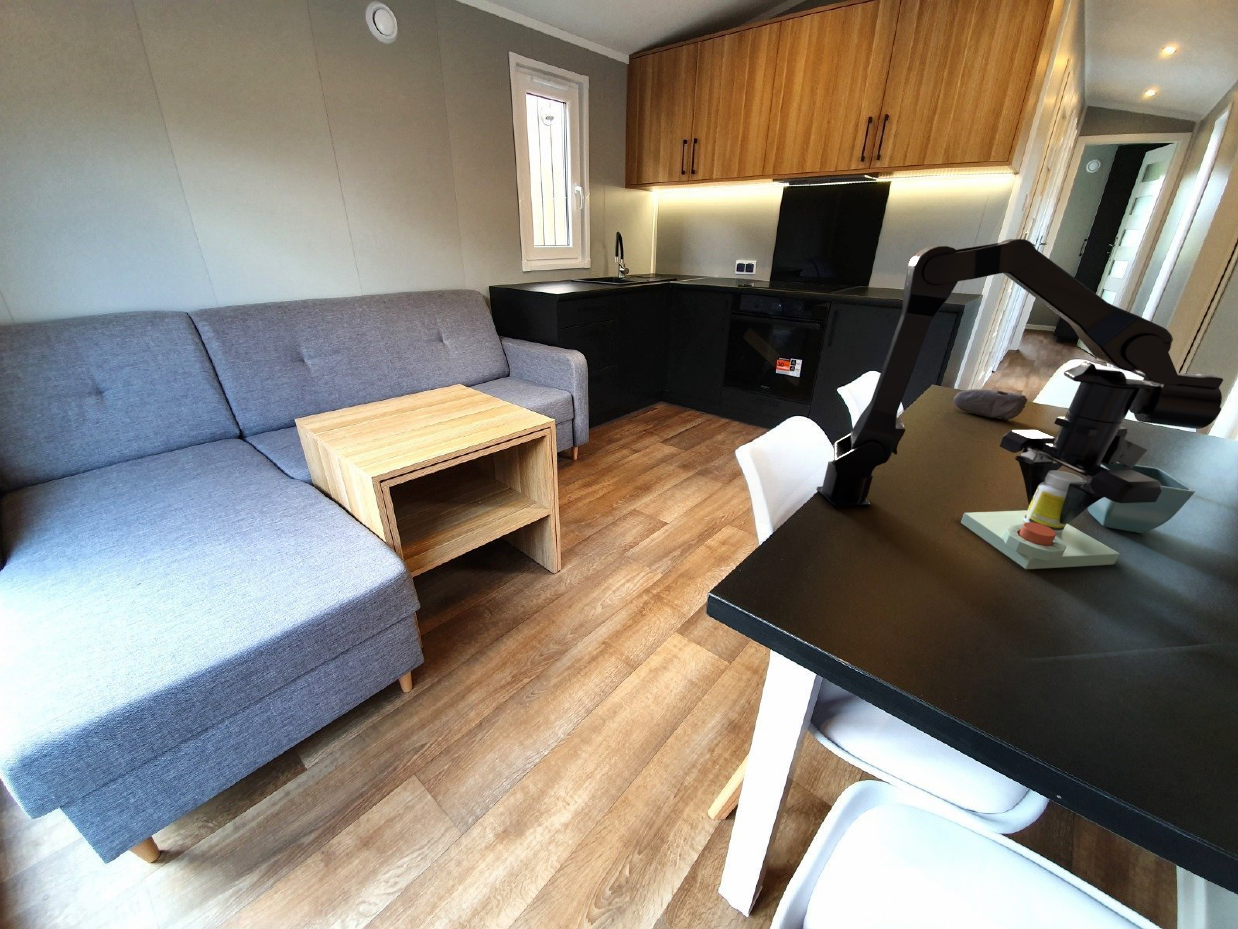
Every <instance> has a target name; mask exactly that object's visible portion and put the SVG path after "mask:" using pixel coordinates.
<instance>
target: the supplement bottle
mask: <svg viewBox="0 0 1238 929" xmlns="http://www.w3.org/2000/svg"><path fill="white" fill-rule="evenodd" d="M1084 480H1085V479H1083V477H1081V476H1079V475H1078V474H1075V473H1071V472H1068V471H1063V470H1059V469H1058V470H1051V471H1049V472H1048V474H1047V476H1046V477H1045V482H1042V483H1040V484H1039V486H1038V488H1037V490H1036V492H1035V494H1034V497H1033V499H1032V501H1031V503H1030V505H1029V504H1028V507H1027V512H1026V514H1025V517H1024V521H1025V522H1033V523H1038V524H1042V525H1045V526H1047V527H1049V528H1051V529H1052V530H1054V531H1055V532H1056V533H1060V532H1062V531H1063V529H1064V527H1065V526H1066V524H1061V523H1060V514H1061V511H1062V507H1063V504H1064V501H1065V497H1066V494H1067V490H1068V487H1069V484H1070V483H1083V482H1084Z"/></svg>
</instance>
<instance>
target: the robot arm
mask: <svg viewBox="0 0 1238 929" xmlns="http://www.w3.org/2000/svg"><path fill="white" fill-rule="evenodd" d="M907 264H908V265H907V269H906V274H905V280H904V288H903V298H902V308H901V314H900V318H899V320H898V322H897V326H896V328H895V331H894V334H893V337H892V340H891V343H890V345H889V349H888V351H887V354H886V358H885V360H884V363H883V366H882V368H881V371H880V373H879V377H878V379H877V383H876V386H875V388H874V391H873V394H872V397H871V400H870V401H869V402H868V405H866V407H865V409H863V411H862V413H861V414H860V415H859V417H858V418H857V421H856V422H855V424H854V426H853V428H852V429H851V432H850V433H849V434H847V435H845V436H844V437H841V438H840V439H838V440H837V441H835V442H834V443H833V460H832V461H831V460H829V461H827V466H826V471H825V474H824V478H823V482H822V486H816V488H815V489H816V491H817V492H818V493H819V494H820V495H821V496H822V497H823V498H824V499H825V500H826V501H827V502H828V503H829V504H830V505H831V506H832V507H834V508H854V507H870V505H871V502H870V501H869V500H868V499H867V498H868V496H869V492H870V488H871V485H872V483H873V482H872V481H873V479H874V477H873V471H874V470H875V468H877V467H879V466H881V465H883V464H886V463H887V462H888V461H890V459H891V457H892V455H893V454H894V455H898V445H899V443H900V442H901V440H902V438H903V437H904V435H905V433H906V428H905V424H904V423H903V419H902V418H901V417H898V412H899V409H900V406H901V403H902V401H903V399H904V396H905V394H906V391H907V388H908V385H909V383H910V380H911V377H912V375H913V372H914V369H915V367H916V365H917V361H918V359H919V356H920V354H921V351H922V349H923V345H924V343H925V341H926V338H927V335H928V332H929V330H930V327H931V325H932V323H933V320H934V319H935V318H936V316H937V314H938V313H939V311H940V310H941V309H942V307H943V306H944V305H945V303H946V302H947V301H948V299H949V298H950V296H951V295H952V293H953V291H954V290H955V288H956V286H957V285H958V282H962V281H968V280H969V281H971V280H975V279H981V278H986V277H989V276H995V275H1001V274H1003V275H1004V276H1006V277H1007V278H1008V279H1010V280H1011V281H1012V282H1014V283H1015V284H1016V285H1018V286H1019V287H1020V288H1022V289H1023V290H1024V291H1026V292H1027V293H1028V294H1030V295H1031V296H1032V297H1033V298H1035V299H1036V300H1038V301H1039V302H1040V303H1041V304H1043V305H1044V306H1045V307H1047V308H1048V309H1050V310H1051V311H1052V312H1053V313H1055V314H1056V315H1057V316H1059V317H1060V318H1061V319H1063V320H1064V321H1066V322H1067V323H1068V324H1069V325H1070V326H1071V328H1072V329H1073V330H1074V332H1075V334H1076V335H1077V337H1078V338H1079V341H1081V342H1082V344H1083V345H1084V346H1085V348H1087V350H1088V351H1089V353H1091V354H1092V355H1093V356H1094V357H1095V358H1096V359H1098V360H1099V361H1102V362H1104V363H1107V364H1109V365H1111V366H1113V367H1116V368H1118V369H1120V370H1113V369H1103V368H1097V367H1096V365H1095V364H1094V363H1092V362H1089V361H1087V360H1086V361H1085V360H1084V361H1083V362H1082V363H1081V364H1079V365H1077V366H1074V367H1071V368H1070V369H1067V370H1065V371H1063V375H1064V376H1065V377H1066V378H1068V379H1070V380H1072V381H1074V382H1077V383H1079V385H1078V387H1077V389H1076V391H1075V394H1074V396H1073V398H1072V401H1071V403H1070V404H1069V407H1068V409H1067V411H1066V414H1065V416H1056V418H1055V421H1054V423H1053V425H1056V426H1059V430H1058V431H1057V432H1056V433H1057V434H1056V436H1051V435H1049V434H1047V433H1044V432H1041V431H1039V430H1037V429H1011V430H1009V431H1008V432H1006V433H1005V434H1004V435H1003V436H1002V438H1001V440H1000V443H999V447H1000V448H1001V449H1004V450H1006V451H1008V452H1010V453H1012V454H1017V453H1020V452H1021V453H1020V455H1016V456H1015V458H1014V460H1015V461H1017V462H1018V464H1019V467H1020V471H1021V474H1022V478H1023V482H1024V487H1025V492H1026V499H1027V503H1028V506H1029V505H1030V503H1031V501H1032V499H1033V497H1034V494H1035V492H1036V490H1037V488H1038V486H1039V484H1040V483H1042V482H1045V477H1046V476H1047V474H1048V472H1049V471H1051V470H1058V471H1059V469H1061V468H1062V467H1065V468H1068V469H1070V470H1072V471H1073V472H1076V473H1077V474H1080V475H1082V476H1085V479H1083V480H1084V481H1083V483H1070V484H1069V487H1068V490H1067V494H1066V497H1065V501H1064V504H1063V507H1062V511H1061V514H1060V523H1061V524H1070V523H1071V522H1072V521H1073V520H1074V519H1076V518H1077V517H1079V515H1081V514H1082V513H1083V512H1085V511H1086V510H1088V507H1089V506H1091V505H1092V504H1094V503H1095V502H1097V501H1098V500H1100V499H1102V498H1104V497H1105V498H1107V499H1109V500H1111V501H1114V502H1118V503H1146V502H1156V501H1157V499H1158V497H1159V495H1160V494H1161V492H1162V487H1161V484H1160V482H1159V481H1158V480H1155V479H1153V478H1151V477H1148V476H1146V475H1143V474H1141V473H1138V472H1136V471H1134V470H1108V469H1106V468H1104V467H1101V464H1107V465H1116V463H1117V462H1118V463H1121V464H1123V466H1124V467H1127V468H1129V469H1132V468H1133V467H1134V465H1137V464H1138V462H1139V461H1140V460H1141V459H1142V458H1143V456H1144V455H1145V454H1146V453H1147V452H1148V451H1149V449H1146V448H1145V447H1142V446H1141V445H1139V444H1136V443H1135V442H1131V441H1129V440H1127V439H1126V437H1127V435H1128V428H1126V427H1124V426H1122V425H1123V423H1124V421H1125V419H1126V417H1127V414H1128V413H1129V412H1130V413H1131V414H1133V416H1134V418H1135V420H1136V421H1137V422H1139V423H1146V424H1155V425H1161V426H1162V425H1163V426H1169V427H1177V428H1178V427H1179V428H1185V429H1193V430H1202V429H1204V428H1207V427H1208V426H1210V425H1211V424H1212V423H1213V422H1214V421H1215V420H1216V419H1217V418H1218V416H1219V415H1220V413H1221V411H1222V407H1221V405H1222V400H1223V395H1222V391H1221V389H1220V387H1221V385H1222V383H1223V381H1224V379H1223V377H1220V376H1217V375H1215V374H1208V373H1192V374H1191V373H1182V372H1178V371H1177V370H1176V367H1175V364H1174V362H1173V359H1172V357H1171V355H1170V351H1171V348H1172V343H1173V342H1174V337H1173V335H1172V333H1171V332H1170V331H1169V329H1167V328H1165V327H1164V326H1161V325H1159V324H1157V323H1155V322H1153V321H1151V320H1148V319H1146V318H1144V317H1142V316H1139V315H1137V314H1134V313H1132V312H1130V311H1127V310H1126V309H1122V308H1120V307H1118V306H1116V305H1114V304H1111V303H1109V302H1107V301H1106V300H1105V299H1104V298H1103V297H1101V296H1100V295H1098V294H1097V293H1096V292H1095V291H1093V290H1091V288H1089V287H1088V286H1086V285H1085V284H1084V283H1082V282H1081V281H1079V280H1078V279H1077V278H1076V277H1074V276H1073V275H1071V274H1070V273H1069V272H1067V271H1066V270H1065V269H1063V268H1062V267H1061V266H1059V265H1058V264H1057V263H1055V262H1054V261H1053V260H1051V259H1050V258H1049V257H1047V256H1046V255H1045V254H1043V253H1042V252H1041V251H1039V250H1038V249H1037V248H1036V247H1035V245H1034V244H1033V242H1031V241H1029V240H1028V239H1023V238H1009V239H1005V240H1002V241H1000V242H997V243H996V242H995V243H990V244H983V245H977V246H976V245H975V246H970V247H963V248H957V249H956V248H954V247H952V246H948V245H929V246H927V247H924V248H922V249H921V250H919V251H918V252H916V253H915V254H914V255H913V256H912V257H911V259H910V261H909V263H907ZM1121 370H1122V371H1126V372H1130V373H1131V374H1134V375H1136V376H1139V377H1141V378H1143V379H1135V378H1134V379H1132V378H1127V377H1126V375H1125V373H1124V372H1122V371H1121ZM1082 466H1084V467H1082Z"/></svg>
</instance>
